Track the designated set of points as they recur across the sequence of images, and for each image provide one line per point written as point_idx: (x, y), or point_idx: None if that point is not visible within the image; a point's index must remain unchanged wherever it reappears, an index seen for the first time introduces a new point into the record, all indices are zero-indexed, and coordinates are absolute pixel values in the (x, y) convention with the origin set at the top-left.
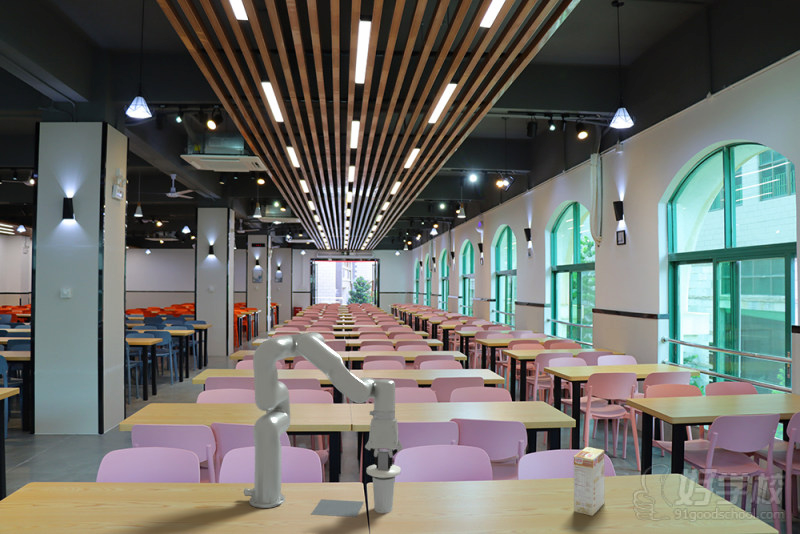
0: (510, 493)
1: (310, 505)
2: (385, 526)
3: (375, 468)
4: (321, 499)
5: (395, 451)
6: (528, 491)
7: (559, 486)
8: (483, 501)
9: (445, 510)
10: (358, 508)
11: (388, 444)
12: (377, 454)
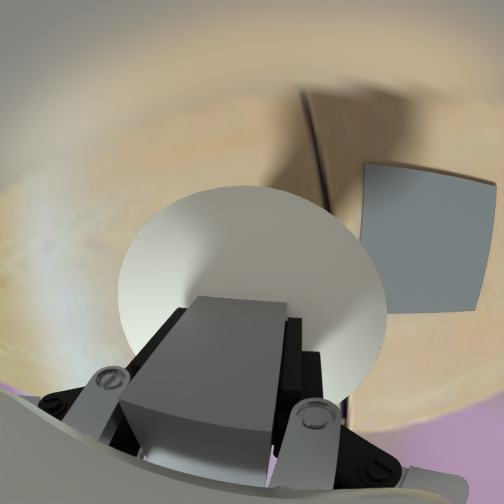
0: (34, 353)
1: (497, 268)
2: (243, 106)
3: (312, 344)
4: (474, 309)
5: (52, 403)
6: (23, 356)
7: (10, 365)
8: (48, 322)
9: (90, 267)
10: (368, 247)
11: (5, 467)
12: (287, 424)
